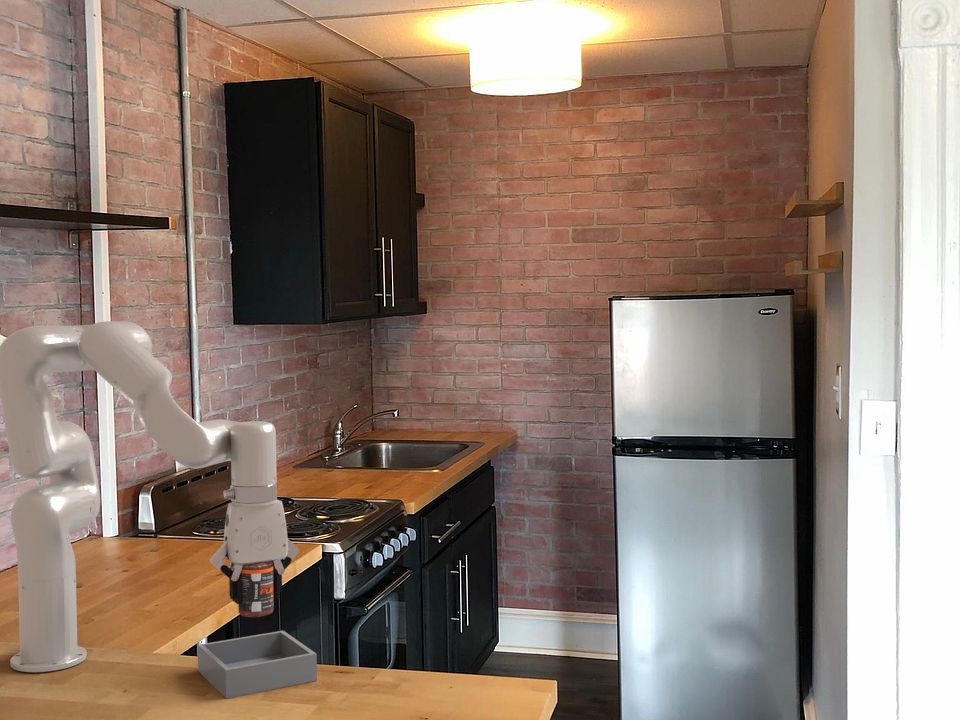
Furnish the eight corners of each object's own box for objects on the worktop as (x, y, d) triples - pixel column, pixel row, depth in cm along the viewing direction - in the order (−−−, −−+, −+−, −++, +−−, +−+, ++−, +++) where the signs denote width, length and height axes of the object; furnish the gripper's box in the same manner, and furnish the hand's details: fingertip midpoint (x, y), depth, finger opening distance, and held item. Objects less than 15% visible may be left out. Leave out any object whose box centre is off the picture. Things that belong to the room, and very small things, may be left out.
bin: (198, 671, 179) (197, 644, 179) (283, 655, 188) (283, 630, 187) (226, 698, 166) (225, 670, 166) (316, 680, 174) (316, 653, 174)
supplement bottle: (265, 619, 173) (264, 552, 172) (232, 617, 174) (231, 551, 174) (279, 609, 179) (278, 544, 178) (247, 608, 180) (246, 543, 180)
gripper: (210, 502, 168) (213, 612, 169) (310, 492, 177) (312, 596, 178) (197, 496, 174) (199, 602, 175) (294, 487, 183) (295, 587, 184)
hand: (256, 598), depth 176 cm, fingers closed on supplement bottle, 6 cm apart
